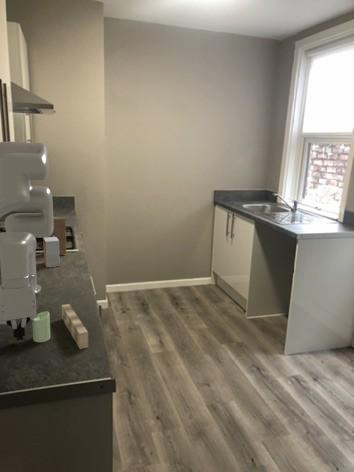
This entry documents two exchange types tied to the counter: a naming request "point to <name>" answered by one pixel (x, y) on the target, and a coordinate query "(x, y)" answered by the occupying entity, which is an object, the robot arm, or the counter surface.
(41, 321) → the candle
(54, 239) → the small box
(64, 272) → the counter surface
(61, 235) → the decorative block
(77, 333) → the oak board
